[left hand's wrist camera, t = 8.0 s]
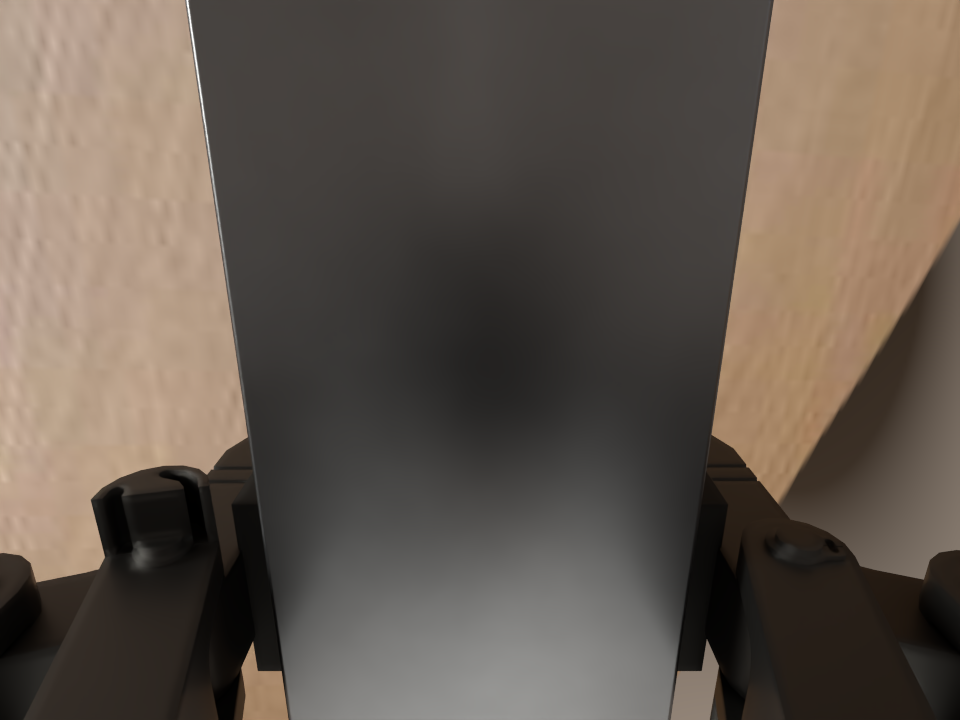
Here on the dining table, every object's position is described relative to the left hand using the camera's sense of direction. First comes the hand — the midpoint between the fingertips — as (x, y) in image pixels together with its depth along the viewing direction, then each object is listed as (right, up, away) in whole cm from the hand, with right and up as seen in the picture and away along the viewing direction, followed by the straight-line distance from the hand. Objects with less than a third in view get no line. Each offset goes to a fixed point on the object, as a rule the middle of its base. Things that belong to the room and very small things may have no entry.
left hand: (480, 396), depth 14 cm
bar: (0, +10, -3) cm, 10 cm away
